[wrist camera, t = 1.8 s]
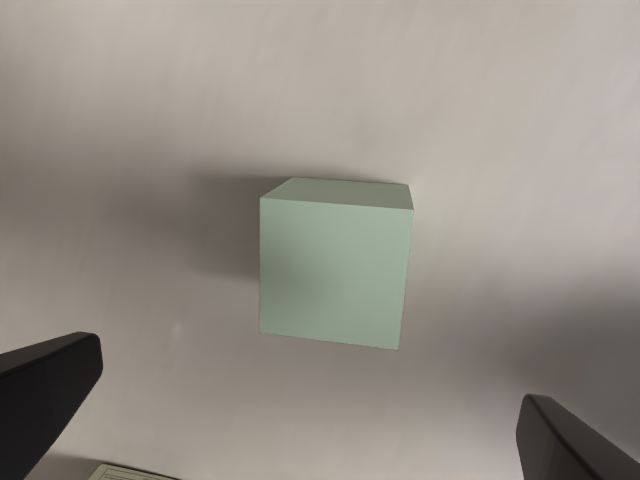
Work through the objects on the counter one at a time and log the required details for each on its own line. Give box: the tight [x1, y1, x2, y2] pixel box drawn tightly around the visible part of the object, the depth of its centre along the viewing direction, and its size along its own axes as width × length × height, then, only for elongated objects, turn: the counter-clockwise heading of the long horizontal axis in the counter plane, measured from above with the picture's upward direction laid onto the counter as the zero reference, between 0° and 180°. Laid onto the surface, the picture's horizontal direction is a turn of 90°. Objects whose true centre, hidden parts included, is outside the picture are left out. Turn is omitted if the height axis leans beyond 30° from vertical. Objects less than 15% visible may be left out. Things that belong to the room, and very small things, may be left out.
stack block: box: [260, 177, 414, 350], centre depth 16 cm, size 5×5×5 cm
